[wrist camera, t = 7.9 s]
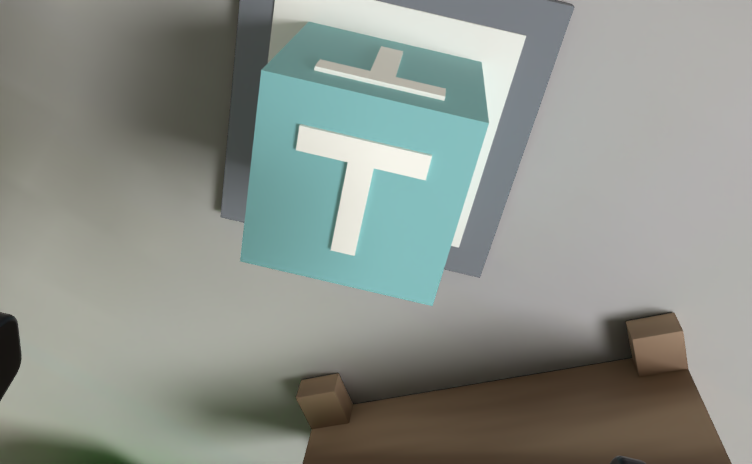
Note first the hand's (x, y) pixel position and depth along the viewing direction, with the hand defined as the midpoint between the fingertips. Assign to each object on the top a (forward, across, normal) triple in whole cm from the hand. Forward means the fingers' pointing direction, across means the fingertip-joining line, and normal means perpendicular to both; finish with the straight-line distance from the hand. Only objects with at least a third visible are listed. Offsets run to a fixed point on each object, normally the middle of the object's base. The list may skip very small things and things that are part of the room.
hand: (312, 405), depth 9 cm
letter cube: (+11, 0, 0) cm, 11 cm away
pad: (+12, 0, 0) cm, 12 cm away
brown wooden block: (+12, -6, +10) cm, 17 cm away
